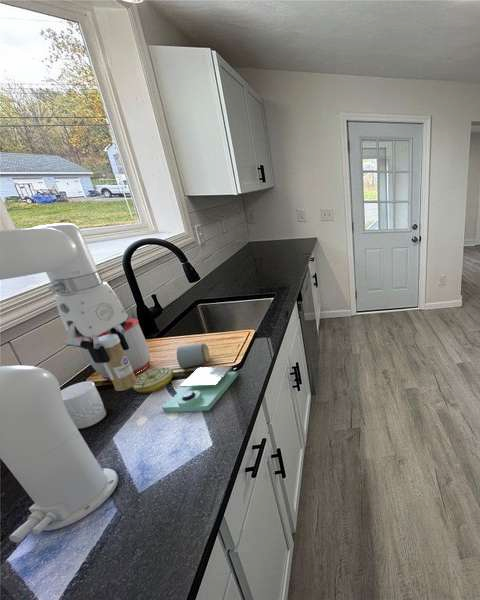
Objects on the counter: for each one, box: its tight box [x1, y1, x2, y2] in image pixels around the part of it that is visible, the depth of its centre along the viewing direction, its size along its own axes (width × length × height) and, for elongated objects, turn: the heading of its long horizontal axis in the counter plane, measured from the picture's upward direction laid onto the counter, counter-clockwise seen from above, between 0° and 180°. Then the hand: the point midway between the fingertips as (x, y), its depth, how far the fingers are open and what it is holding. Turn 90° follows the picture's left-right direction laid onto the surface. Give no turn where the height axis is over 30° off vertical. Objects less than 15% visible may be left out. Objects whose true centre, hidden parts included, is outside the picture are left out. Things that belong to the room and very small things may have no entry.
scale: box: [162, 371, 238, 413], centre depth 94 cm, size 16×13×3 cm
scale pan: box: [180, 366, 233, 388], centre depth 97 cm, size 9×11×1 cm
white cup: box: [60, 380, 107, 430], centre depth 84 cm, size 8×8×10 cm
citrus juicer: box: [78, 317, 151, 382], centre depth 103 cm, size 16×17×20 cm
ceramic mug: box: [176, 342, 210, 369], centre depth 110 cm, size 11×8×8 cm
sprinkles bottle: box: [98, 334, 138, 392], centre depth 75 cm, size 5×5×13 cm
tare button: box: [183, 391, 195, 401], centre depth 88 cm, size 3×3×1 cm
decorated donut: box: [132, 367, 174, 394], centre depth 99 cm, size 10×11×4 cm
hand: (112, 355), depth 74 cm, fingers closed on sprinkles bottle, 4 cm apart
